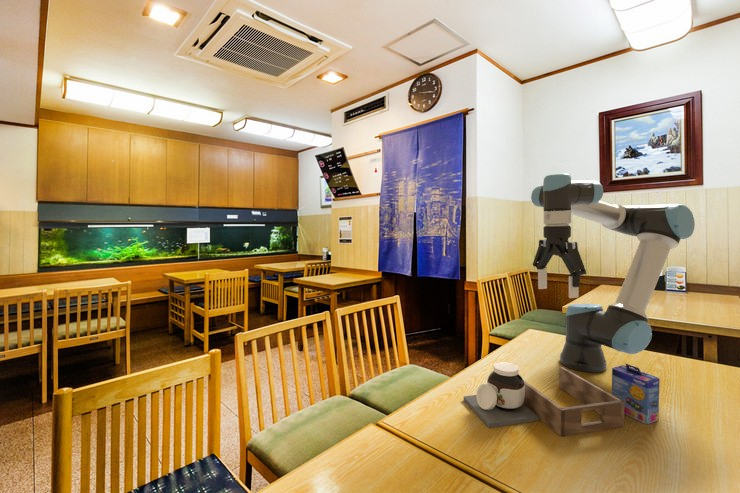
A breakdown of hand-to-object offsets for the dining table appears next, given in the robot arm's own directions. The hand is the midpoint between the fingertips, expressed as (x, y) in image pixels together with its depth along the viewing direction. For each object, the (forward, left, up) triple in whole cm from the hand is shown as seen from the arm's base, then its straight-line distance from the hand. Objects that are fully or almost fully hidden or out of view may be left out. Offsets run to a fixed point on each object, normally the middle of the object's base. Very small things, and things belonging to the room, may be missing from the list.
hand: (557, 293), depth 111 cm
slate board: (+5, -23, -32) cm, 40 cm away
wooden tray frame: (+9, -5, -32) cm, 34 cm away
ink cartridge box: (+16, +13, -33) cm, 38 cm away
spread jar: (+6, -23, -31) cm, 39 cm away
